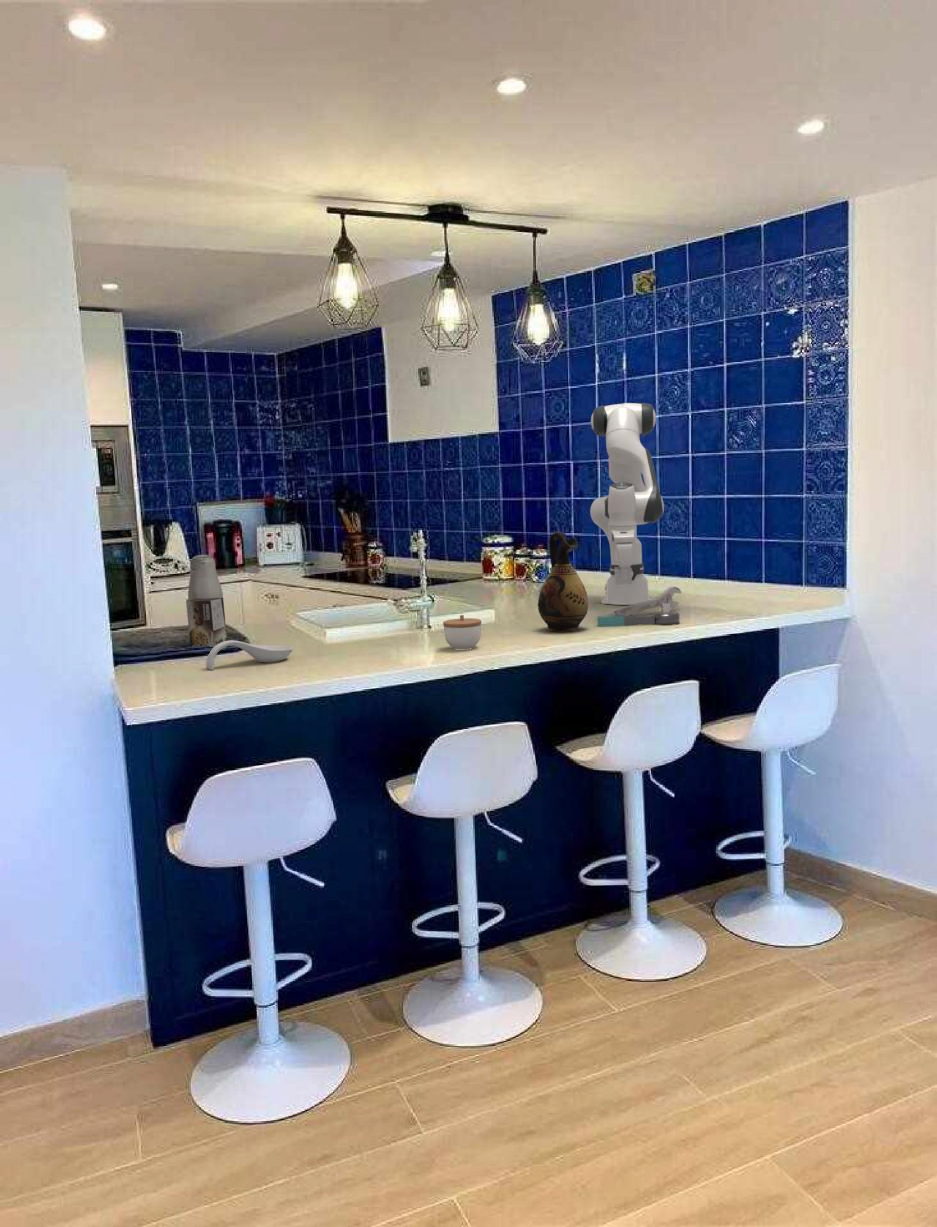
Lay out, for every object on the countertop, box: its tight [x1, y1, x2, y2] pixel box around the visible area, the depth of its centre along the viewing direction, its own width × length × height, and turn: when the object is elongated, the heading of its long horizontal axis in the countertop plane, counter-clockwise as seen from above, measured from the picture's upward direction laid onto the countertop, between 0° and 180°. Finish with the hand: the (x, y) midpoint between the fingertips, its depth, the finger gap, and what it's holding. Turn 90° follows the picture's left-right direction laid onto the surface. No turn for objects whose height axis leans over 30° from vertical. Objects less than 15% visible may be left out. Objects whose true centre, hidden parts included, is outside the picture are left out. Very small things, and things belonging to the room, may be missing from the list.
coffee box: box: [185, 597, 228, 648], centre depth 283 cm, size 9×6×16 cm
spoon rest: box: [205, 639, 294, 671], centre depth 262 cm, size 24×12×7 cm, turn 123°
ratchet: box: [596, 604, 680, 627], centre depth 297 cm, size 8×25×6 cm, turn 85°
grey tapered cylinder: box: [187, 553, 224, 601], centre depth 300 cm, size 10×10×28 cm
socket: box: [615, 567, 632, 585], centre depth 305 cm, size 5×5×5 cm
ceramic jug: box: [537, 530, 589, 633], centre depth 293 cm, size 17×15×30 cm
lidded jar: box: [442, 614, 482, 650], centre depth 270 cm, size 11×11×9 cm
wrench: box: [607, 586, 682, 616], centre depth 318 cm, size 8×2×30 cm
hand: (623, 578), depth 305 cm, fingers closed on socket, 5 cm apart
